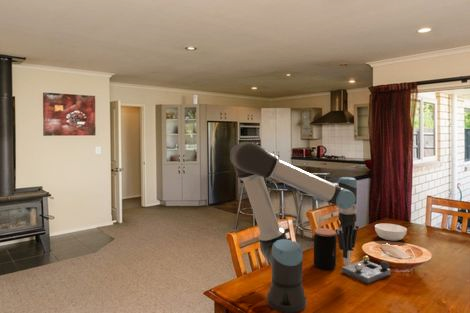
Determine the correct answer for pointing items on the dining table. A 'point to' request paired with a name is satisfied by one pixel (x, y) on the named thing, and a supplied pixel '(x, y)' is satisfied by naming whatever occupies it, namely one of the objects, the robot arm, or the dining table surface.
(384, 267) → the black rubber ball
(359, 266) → the steel ball
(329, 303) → the dining table surface
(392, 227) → the bowl
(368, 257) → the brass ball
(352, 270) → the grey base plate
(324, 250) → the coffee jar
